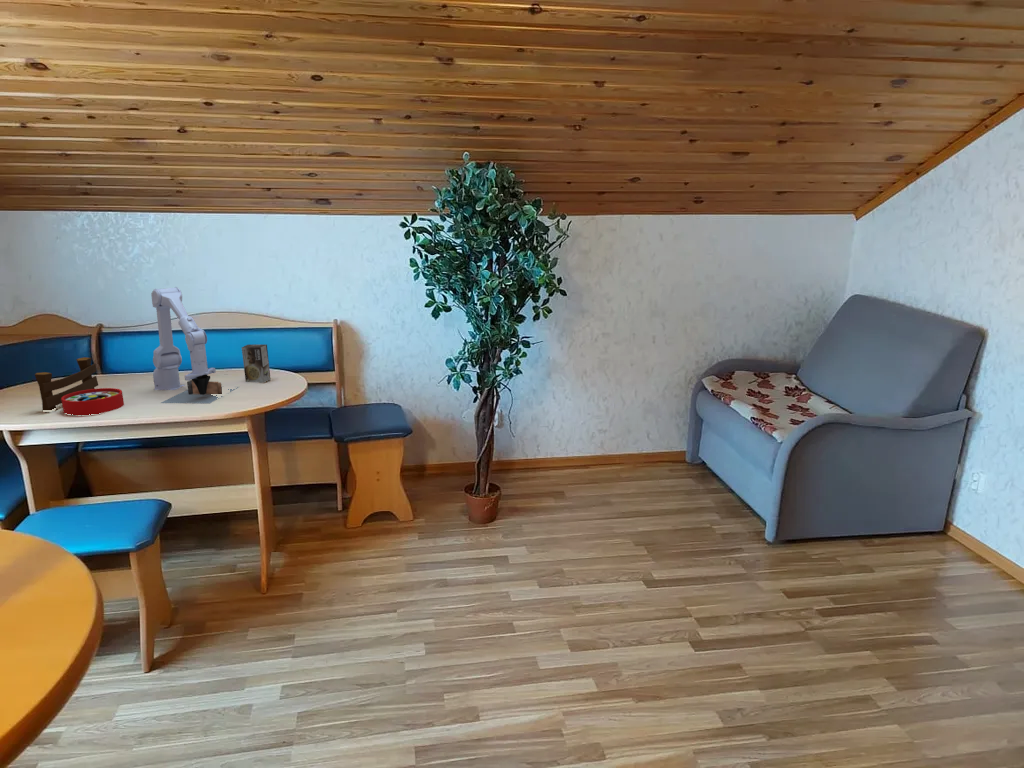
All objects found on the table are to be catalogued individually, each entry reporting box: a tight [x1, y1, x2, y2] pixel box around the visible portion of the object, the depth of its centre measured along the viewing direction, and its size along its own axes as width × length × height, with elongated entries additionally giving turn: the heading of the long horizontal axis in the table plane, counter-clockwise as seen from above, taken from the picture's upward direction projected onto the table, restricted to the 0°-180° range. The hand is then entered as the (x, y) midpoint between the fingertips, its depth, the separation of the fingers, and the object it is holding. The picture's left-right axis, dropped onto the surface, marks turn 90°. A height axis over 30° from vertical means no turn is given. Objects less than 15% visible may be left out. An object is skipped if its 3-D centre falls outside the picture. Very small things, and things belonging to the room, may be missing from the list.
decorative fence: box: [34, 356, 99, 411], centre depth 270 cm, size 34×6×15 cm, turn 2°
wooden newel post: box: [192, 380, 223, 394], centre depth 279 cm, size 12×2×5 cm, turn 85°
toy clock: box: [61, 387, 125, 416], centre depth 261 cm, size 20×6×20 cm
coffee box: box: [241, 343, 271, 383], centre depth 301 cm, size 9×6×16 cm
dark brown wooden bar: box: [186, 379, 193, 394], centre depth 285 cm, size 2×12×5 cm, turn 177°
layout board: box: [160, 386, 240, 405], centre depth 279 cm, size 20×26×1 cm
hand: (202, 394), depth 274 cm, fingers closed
